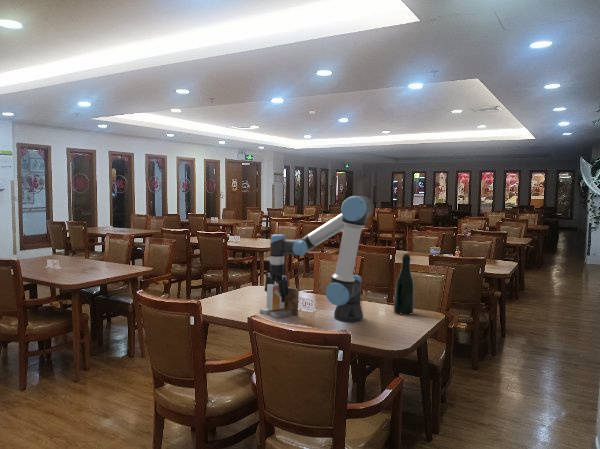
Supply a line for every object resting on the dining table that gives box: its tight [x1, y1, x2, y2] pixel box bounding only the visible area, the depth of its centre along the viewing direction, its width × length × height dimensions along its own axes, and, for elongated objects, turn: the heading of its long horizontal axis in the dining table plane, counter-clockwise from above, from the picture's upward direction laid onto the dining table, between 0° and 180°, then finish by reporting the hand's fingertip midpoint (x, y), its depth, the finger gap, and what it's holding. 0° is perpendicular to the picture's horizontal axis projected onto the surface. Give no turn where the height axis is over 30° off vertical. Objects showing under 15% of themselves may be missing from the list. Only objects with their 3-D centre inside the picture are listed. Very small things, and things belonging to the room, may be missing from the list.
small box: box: [266, 282, 285, 311], centre depth 250 cm, size 8×6×13 cm
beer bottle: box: [393, 253, 415, 315], centre depth 260 cm, size 10×10×33 cm
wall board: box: [259, 286, 300, 319], centre depth 251 cm, size 20×11×14 cm, turn 51°
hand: (275, 306), depth 250 cm, fingers closed on small box, 7 cm apart
